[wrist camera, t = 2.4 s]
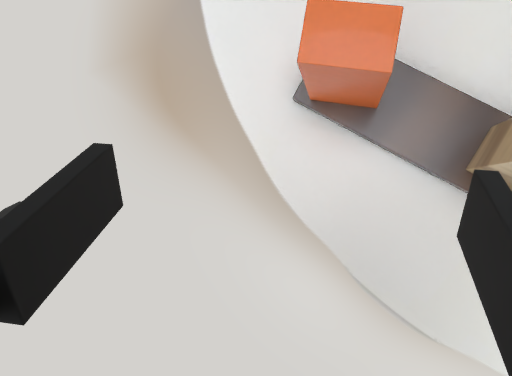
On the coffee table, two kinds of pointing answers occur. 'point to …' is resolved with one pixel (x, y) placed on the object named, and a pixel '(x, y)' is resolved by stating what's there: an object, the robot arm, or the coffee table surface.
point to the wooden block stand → (428, 126)
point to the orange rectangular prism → (348, 50)
